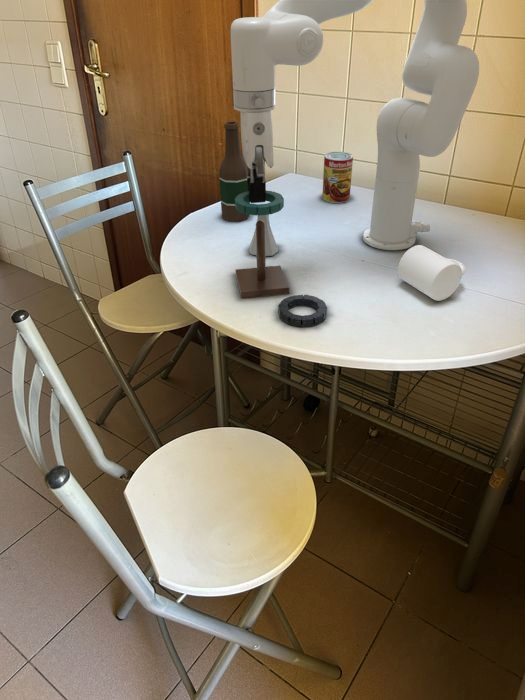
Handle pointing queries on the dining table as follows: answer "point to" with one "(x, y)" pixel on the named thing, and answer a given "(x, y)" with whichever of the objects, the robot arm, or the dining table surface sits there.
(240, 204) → the teal ring
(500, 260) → the dining table surface
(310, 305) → the graphite ring
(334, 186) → the canned food
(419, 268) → the mug
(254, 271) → the stand
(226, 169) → the beer bottle
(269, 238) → the flask
